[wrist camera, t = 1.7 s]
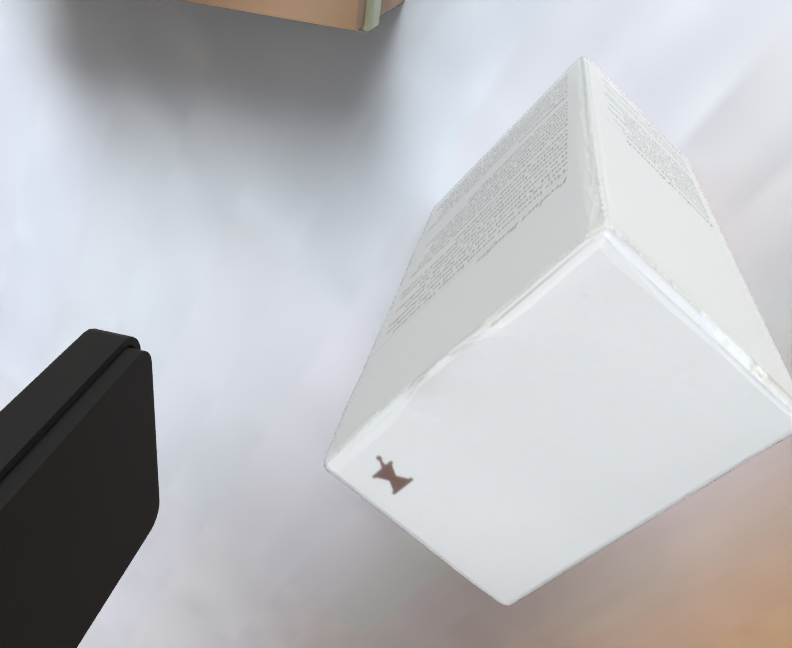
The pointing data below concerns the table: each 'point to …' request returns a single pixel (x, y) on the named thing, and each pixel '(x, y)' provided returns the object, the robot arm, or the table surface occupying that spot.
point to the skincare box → (561, 351)
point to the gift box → (315, 10)
